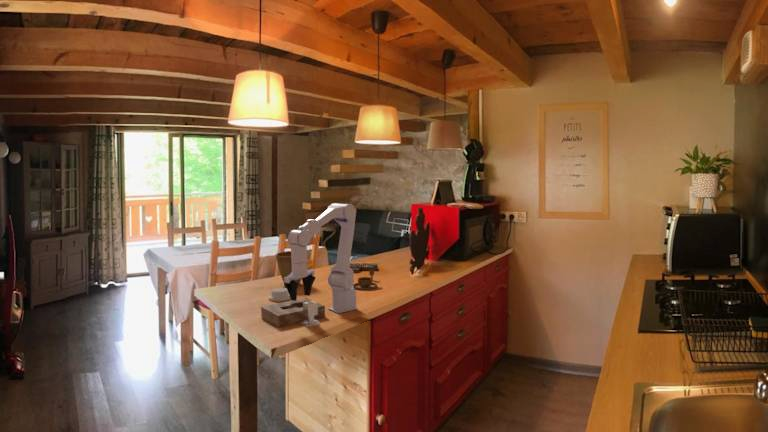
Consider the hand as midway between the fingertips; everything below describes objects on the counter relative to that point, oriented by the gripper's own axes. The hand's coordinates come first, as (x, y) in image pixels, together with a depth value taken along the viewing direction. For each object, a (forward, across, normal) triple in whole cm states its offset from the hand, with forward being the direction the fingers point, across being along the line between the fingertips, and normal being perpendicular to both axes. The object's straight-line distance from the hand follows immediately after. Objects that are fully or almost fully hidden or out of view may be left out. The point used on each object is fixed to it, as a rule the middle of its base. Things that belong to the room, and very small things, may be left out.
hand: (300, 297), depth 180 cm
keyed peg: (+10, -2, +3) cm, 11 cm away
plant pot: (+11, -44, -45) cm, 64 cm away
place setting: (+11, -62, -10) cm, 64 cm away
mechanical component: (+11, -22, -32) cm, 40 cm away
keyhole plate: (+10, -5, -8) cm, 14 cm away
